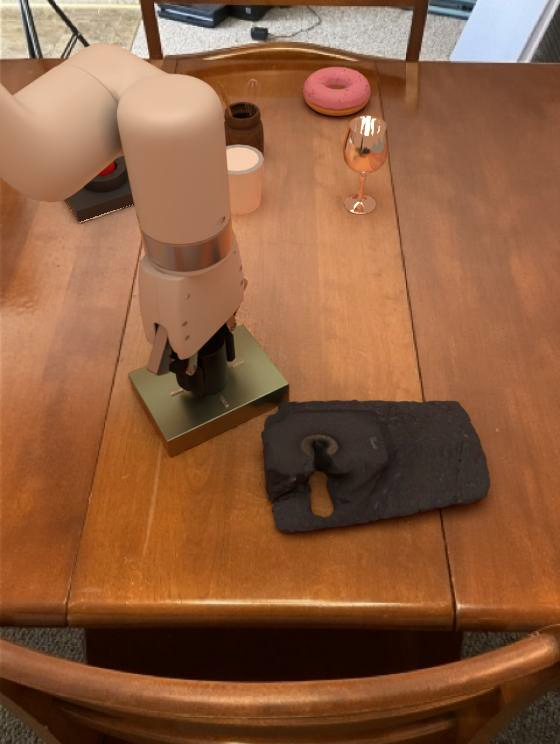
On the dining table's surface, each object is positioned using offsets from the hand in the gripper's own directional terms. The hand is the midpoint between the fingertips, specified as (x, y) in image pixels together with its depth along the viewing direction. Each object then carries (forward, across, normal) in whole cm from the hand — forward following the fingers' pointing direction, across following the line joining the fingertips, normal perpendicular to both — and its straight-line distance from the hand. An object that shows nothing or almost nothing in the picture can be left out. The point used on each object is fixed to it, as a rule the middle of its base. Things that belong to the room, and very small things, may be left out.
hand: (206, 370), depth 70 cm
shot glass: (+5, -29, -17) cm, 34 cm away
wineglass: (+5, -38, -2) cm, 38 cm away
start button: (+1, -21, -34) cm, 40 cm away
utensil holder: (+5, -39, -23) cm, 46 cm away
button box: (+4, -21, -34) cm, 40 cm away
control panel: (+4, 0, 0) cm, 4 cm away
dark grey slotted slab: (+5, -2, +19) cm, 19 cm away
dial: (+1, 0, 0) cm, 1 cm away
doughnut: (+5, -59, -19) cm, 62 cm away
